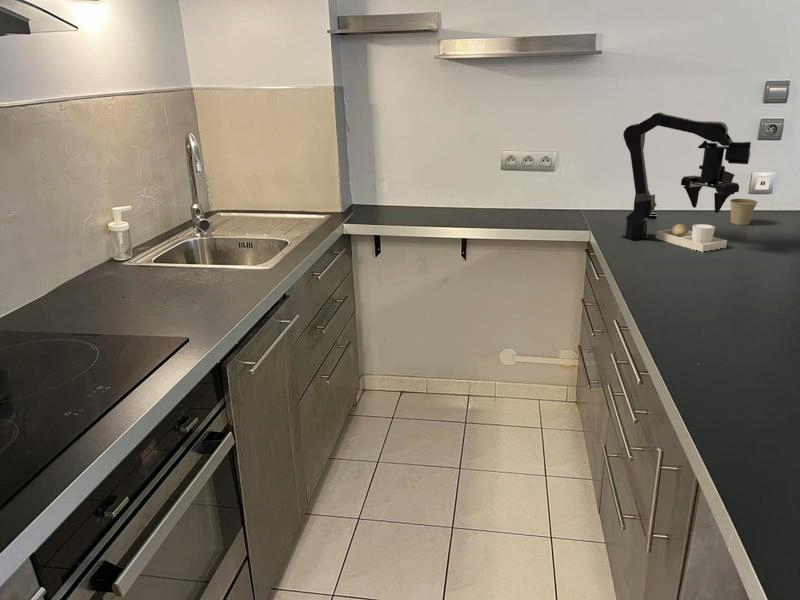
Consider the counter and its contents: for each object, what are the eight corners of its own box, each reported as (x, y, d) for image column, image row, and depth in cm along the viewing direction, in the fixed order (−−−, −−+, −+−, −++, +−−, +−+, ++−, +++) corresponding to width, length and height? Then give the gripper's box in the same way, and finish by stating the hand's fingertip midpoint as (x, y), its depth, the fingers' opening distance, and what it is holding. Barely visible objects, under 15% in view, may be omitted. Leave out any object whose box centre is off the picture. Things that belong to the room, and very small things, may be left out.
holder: (702, 252, 200) (703, 245, 200) (655, 238, 218) (656, 231, 217) (726, 248, 204) (727, 240, 203) (678, 234, 222) (679, 227, 221)
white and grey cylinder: (709, 250, 202) (713, 229, 200) (687, 247, 206) (690, 227, 204) (714, 245, 208) (717, 225, 205) (692, 242, 211) (694, 222, 209)
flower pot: (759, 226, 229) (763, 203, 226) (733, 226, 229) (737, 203, 226) (746, 220, 238) (749, 198, 235) (721, 221, 238) (725, 198, 235)
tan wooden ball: (678, 242, 212) (680, 226, 210) (666, 238, 217) (668, 223, 215) (690, 240, 214) (693, 224, 212) (678, 236, 219) (680, 221, 217)
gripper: (755, 164, 193) (747, 212, 199) (707, 157, 210) (701, 202, 215) (729, 167, 190) (721, 216, 195) (682, 160, 206) (676, 206, 211)
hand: (705, 210), depth 204 cm, fingers open, 9 cm apart
